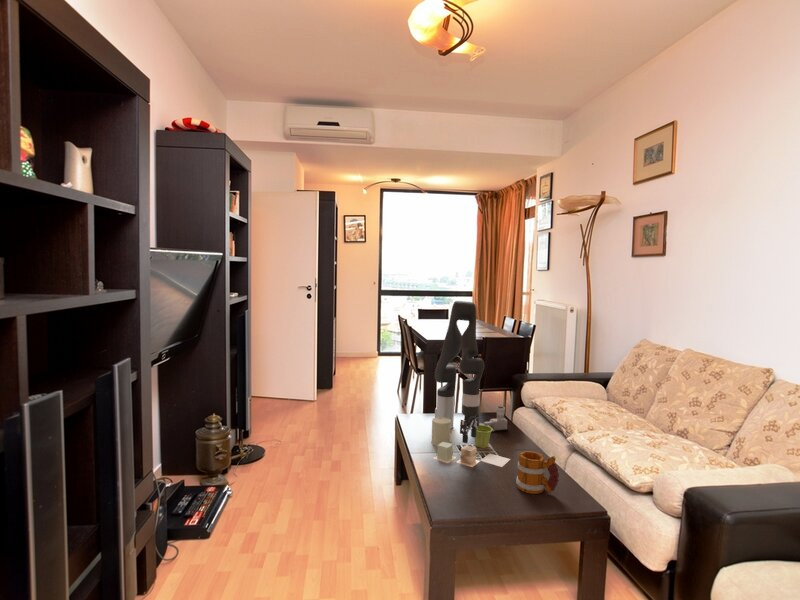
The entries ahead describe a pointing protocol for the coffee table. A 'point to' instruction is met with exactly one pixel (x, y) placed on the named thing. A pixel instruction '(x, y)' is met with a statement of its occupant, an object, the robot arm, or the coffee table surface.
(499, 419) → the camera
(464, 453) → the beech block
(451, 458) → the code tile
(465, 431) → the robot arm
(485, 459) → the felt pad
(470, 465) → the code tile
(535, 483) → the mug
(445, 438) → the can
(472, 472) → the coffee table surface
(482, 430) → the plant pot
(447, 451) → the sage block
